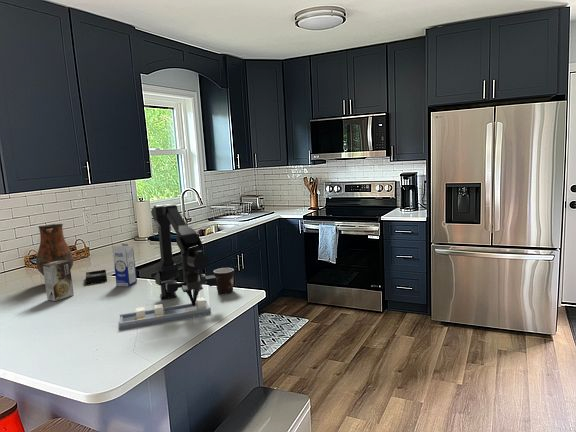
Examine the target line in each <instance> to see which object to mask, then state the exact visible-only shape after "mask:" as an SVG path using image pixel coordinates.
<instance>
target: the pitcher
mask: <svg viewBox="0 0 576 432" xmlns="http://www.w3.org/2000/svg"><path fill="white" fill-rule="evenodd" d="M63 225H64V223H53V224H46V225H38V229H39V235H40V239H39V241H40V242H39V248H38V250H37V252H36V253H37V254H36V256H35V257H36V259H35V265H36V268H37V271H38V272H39V273H40V274H41V275H42V276H44V272H43V264H47V263H51V262H55V261H59V260H66V261H69V264H70V271H71V270H72V268H73V266H74V256H73V253H72V250H71V248H70V247H69V245H68V243H67V241H66V240H65V236H64V231H63Z"/></svg>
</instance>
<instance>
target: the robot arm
mask: <svg viewBox="0 0 576 432" xmlns="http://www.w3.org/2000/svg"><path fill="white" fill-rule="evenodd" d="M150 211H151V212H150V213H151V217H152V220H153V222H154V224H156V225H157V228H158V241H159V254H160V261H159V263H158V265H157V271H156V274H155V277H154V280H155V281H154V282H155V285H158V286H160V294H159V295H160V296H159V297H160V300H166V299H171V298H177V297H178V295H177V291H178V290H179V288H180V289H181V290H182V291H183V293H186V294H187V295H188V297H189V300H190V303H192V305H193V306H195V303H196V299H197V298H198V295H199V294H200V291H201V290H203V289H204V287H203V285H206V284H207V285H208V286H209V287H217V286H216V285H218V280H217V278H216V277H215V276H214V274H212V275H206V274H205V273H202V274H200V272H199V271H203V270H205V269H206V268H208V267H209V264H210V263H209V262H210V261H209V257H208V256H207V255H206V254H204V243H203V242H202V240H201V238H200V236H199V235H198V232H196V230H195V229H194V228H192V227H189V226H188V225H187V223H186V222H185V220H184V218H183V216H182V215H181V213H180V211H179V210H178V205H177V204H175V203H171V204H169V203H167V204H157V205H154V206H153V208H151V210H150ZM171 227H172V228H173V230H174V232H175V233H176V240H175V241H176V245H177V246H178V248H179V250H180V251H179V253H180V254H181V264H182V265H181V266H182V275H183V277H182V278H183V282H179V278H180V277H179V276H180V270H179V265H178V264H177V263H176V262H175V261H174V259H173V251H172V250H173V249H172V237H171Z"/></svg>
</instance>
